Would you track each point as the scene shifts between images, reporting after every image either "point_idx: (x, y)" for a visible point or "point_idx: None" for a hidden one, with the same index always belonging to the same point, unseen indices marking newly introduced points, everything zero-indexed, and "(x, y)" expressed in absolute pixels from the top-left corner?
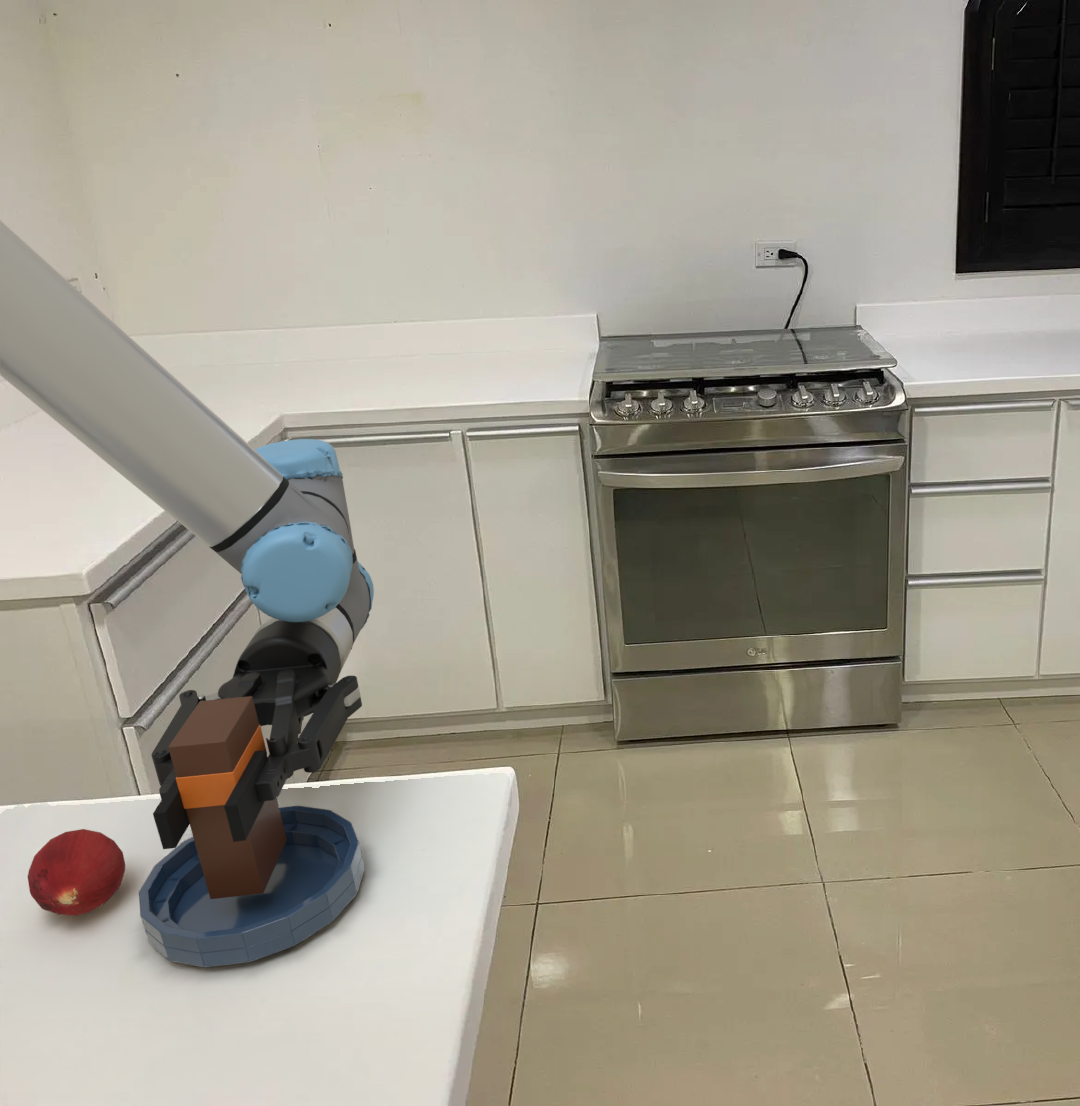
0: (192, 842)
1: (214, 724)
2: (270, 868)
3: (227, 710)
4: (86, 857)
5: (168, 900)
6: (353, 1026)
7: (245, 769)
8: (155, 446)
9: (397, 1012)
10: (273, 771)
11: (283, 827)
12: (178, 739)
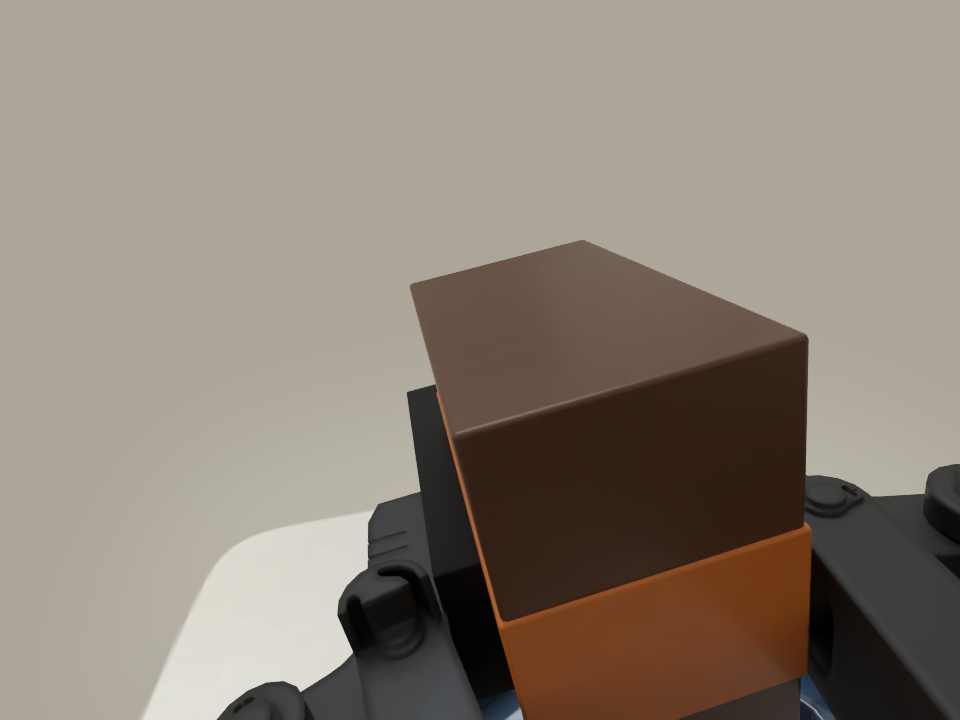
0: None
1: (509, 297)
2: None
3: (517, 336)
4: None
5: (810, 709)
6: (318, 587)
7: (455, 475)
8: None
9: (260, 615)
10: (385, 549)
11: None
12: (582, 251)
